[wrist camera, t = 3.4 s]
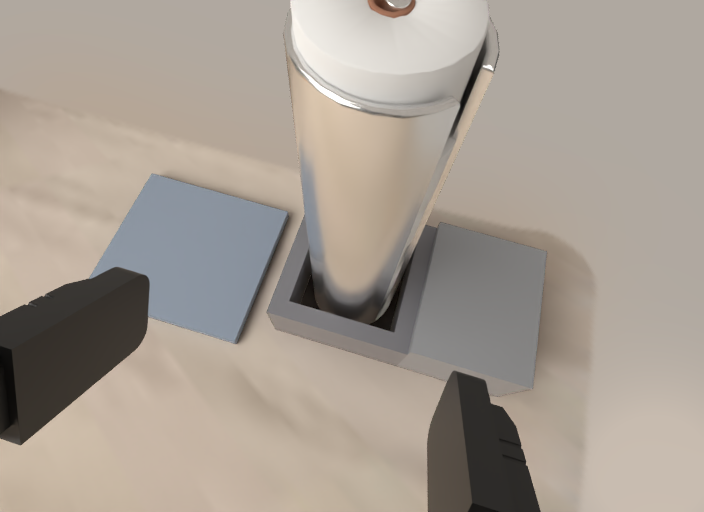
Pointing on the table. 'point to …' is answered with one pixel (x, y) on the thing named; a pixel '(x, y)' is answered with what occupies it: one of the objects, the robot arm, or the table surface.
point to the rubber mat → (196, 254)
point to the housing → (438, 309)
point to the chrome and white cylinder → (379, 131)
